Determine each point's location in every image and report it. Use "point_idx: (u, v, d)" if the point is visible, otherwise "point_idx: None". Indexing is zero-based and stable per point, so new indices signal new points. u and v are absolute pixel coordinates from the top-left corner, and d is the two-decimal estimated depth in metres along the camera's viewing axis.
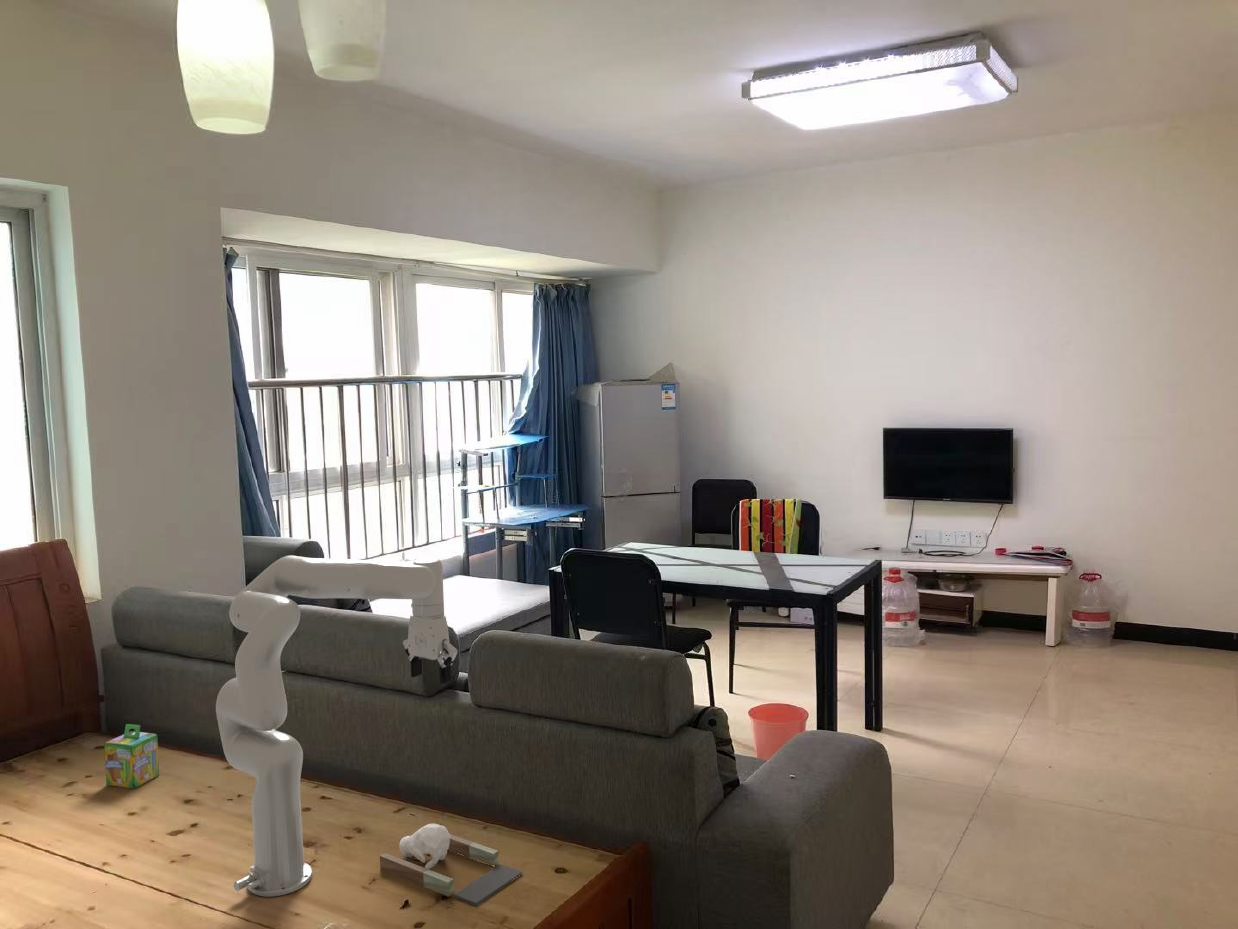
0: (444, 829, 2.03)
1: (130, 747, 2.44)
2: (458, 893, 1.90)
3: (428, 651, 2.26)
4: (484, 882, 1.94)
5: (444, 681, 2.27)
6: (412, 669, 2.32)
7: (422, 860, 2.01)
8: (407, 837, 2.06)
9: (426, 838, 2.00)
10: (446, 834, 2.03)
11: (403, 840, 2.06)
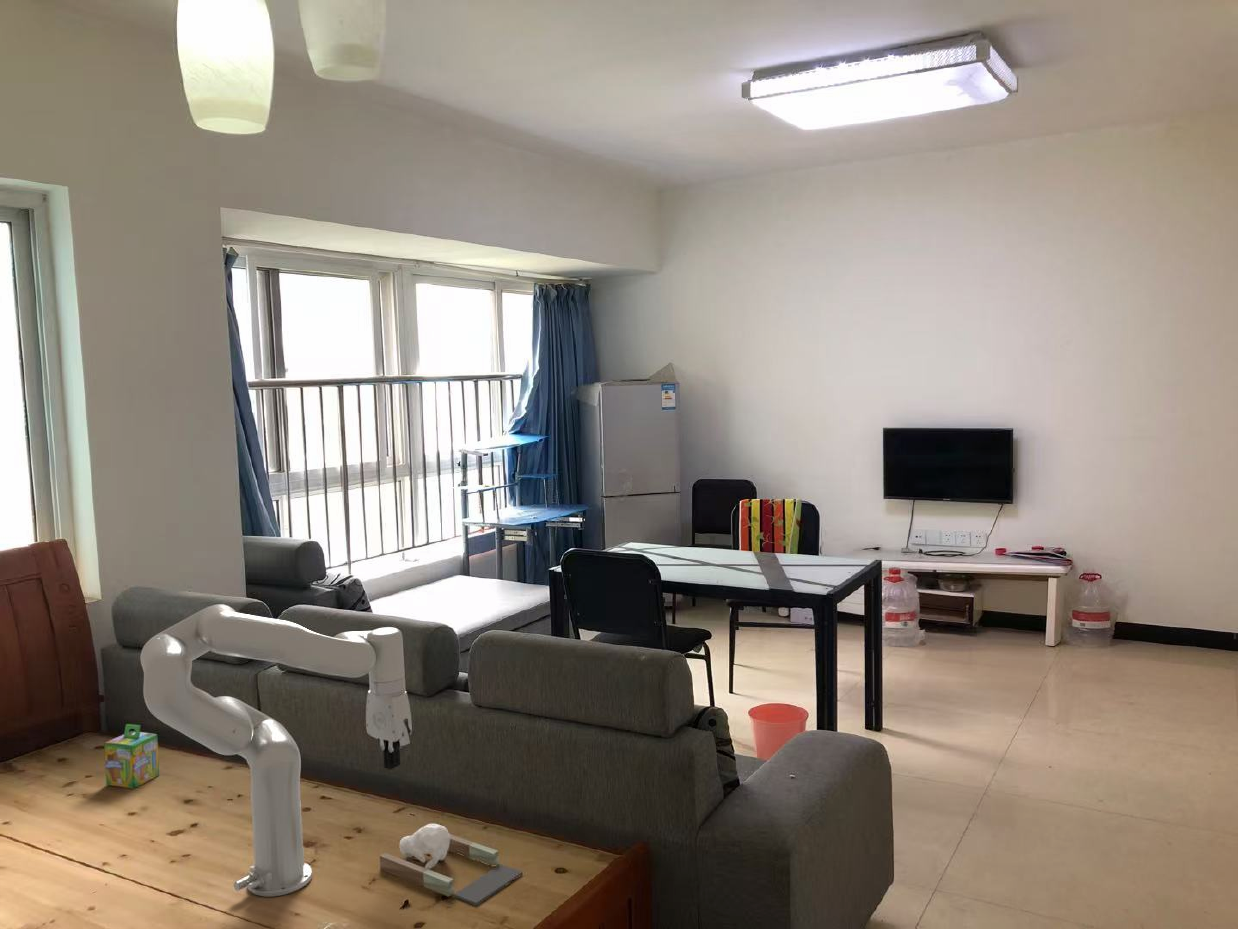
0: (444, 829, 2.03)
1: (130, 747, 2.44)
2: (458, 893, 1.90)
3: (387, 732, 2.04)
4: (484, 882, 1.94)
5: (392, 766, 2.07)
6: (385, 760, 2.07)
7: (422, 860, 2.01)
8: (407, 837, 2.06)
9: (426, 838, 2.00)
10: (446, 834, 2.03)
11: (403, 840, 2.06)
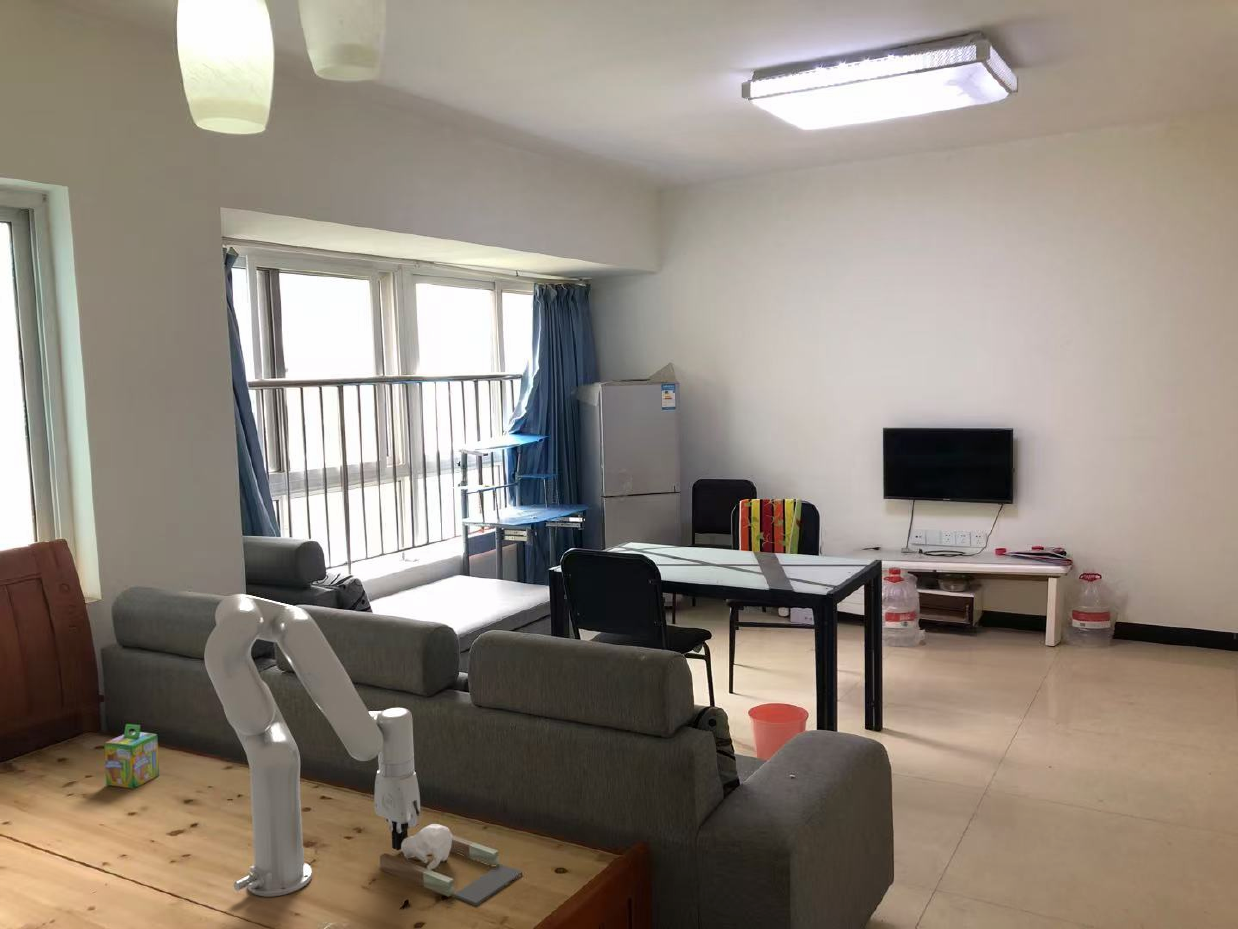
0: (446, 829, 2.02)
1: (130, 747, 2.44)
2: (458, 893, 1.90)
3: (396, 814, 2.04)
4: (484, 882, 1.94)
5: (400, 847, 2.08)
6: (393, 840, 2.07)
7: (424, 861, 2.01)
8: (409, 838, 2.05)
9: (428, 838, 2.00)
10: (448, 834, 2.02)
11: (405, 841, 2.05)
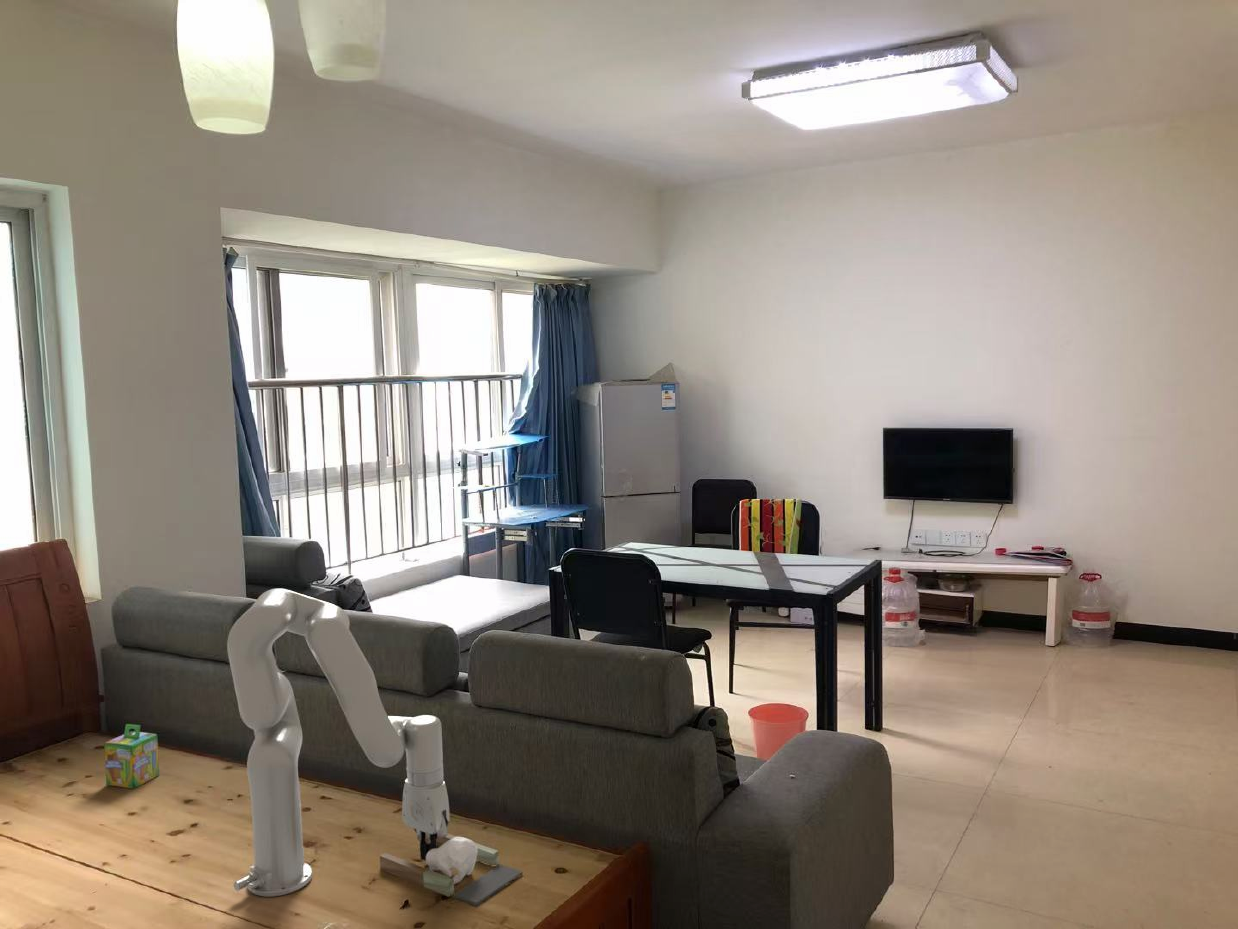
0: (471, 843, 1.96)
1: (130, 747, 2.44)
2: (458, 893, 1.90)
3: (425, 824, 1.99)
4: (484, 882, 1.94)
5: None
6: (422, 851, 2.02)
7: (448, 874, 1.95)
8: (434, 850, 2.00)
9: (452, 852, 1.94)
10: (473, 848, 1.96)
11: (430, 852, 2.00)
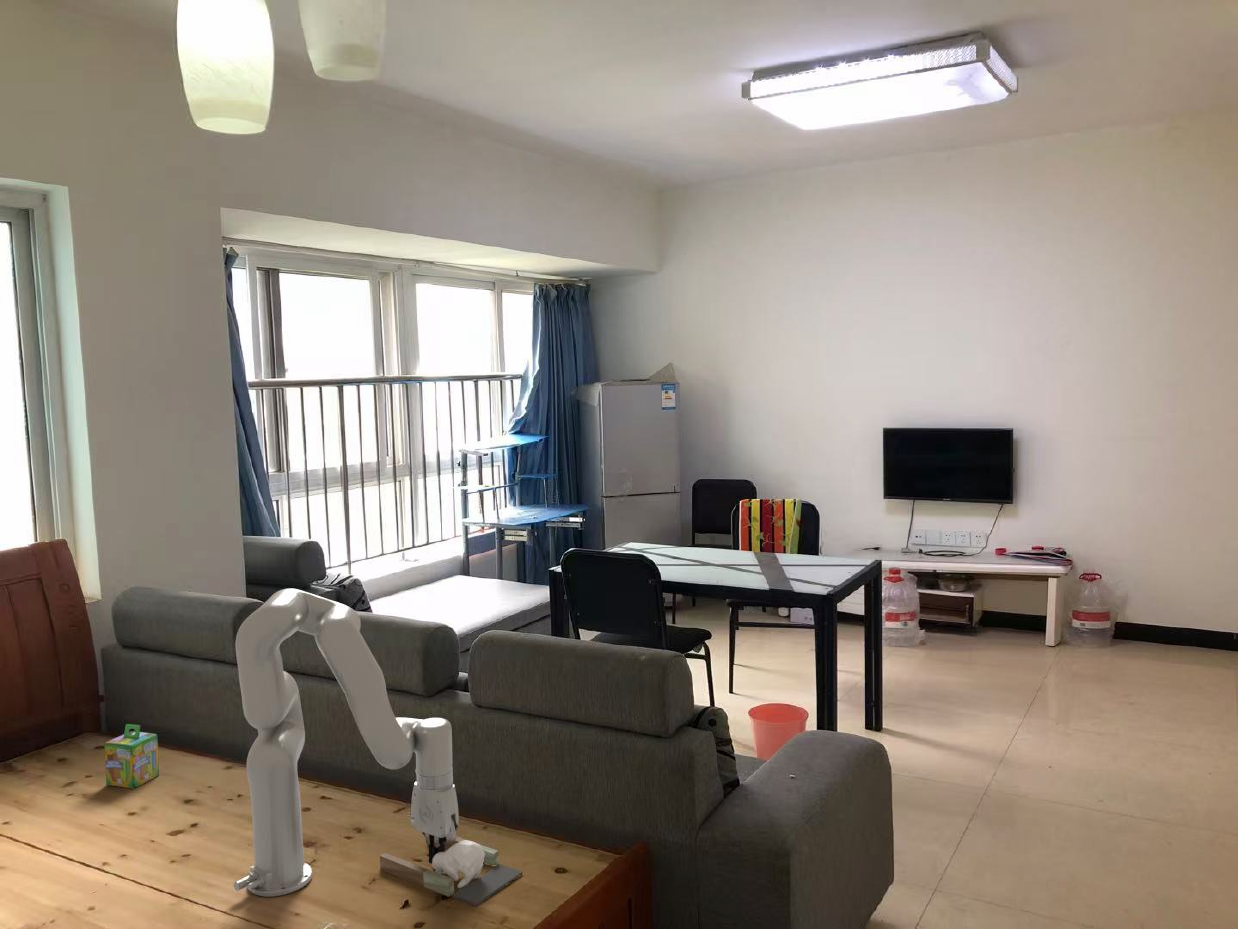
0: (478, 846, 1.95)
1: (130, 747, 2.44)
2: (458, 893, 1.90)
3: (434, 828, 1.98)
4: (484, 882, 1.94)
5: None
6: (430, 854, 2.01)
7: (455, 878, 1.93)
8: (440, 853, 1.98)
9: (458, 855, 1.93)
10: (480, 852, 1.95)
11: (436, 856, 1.98)
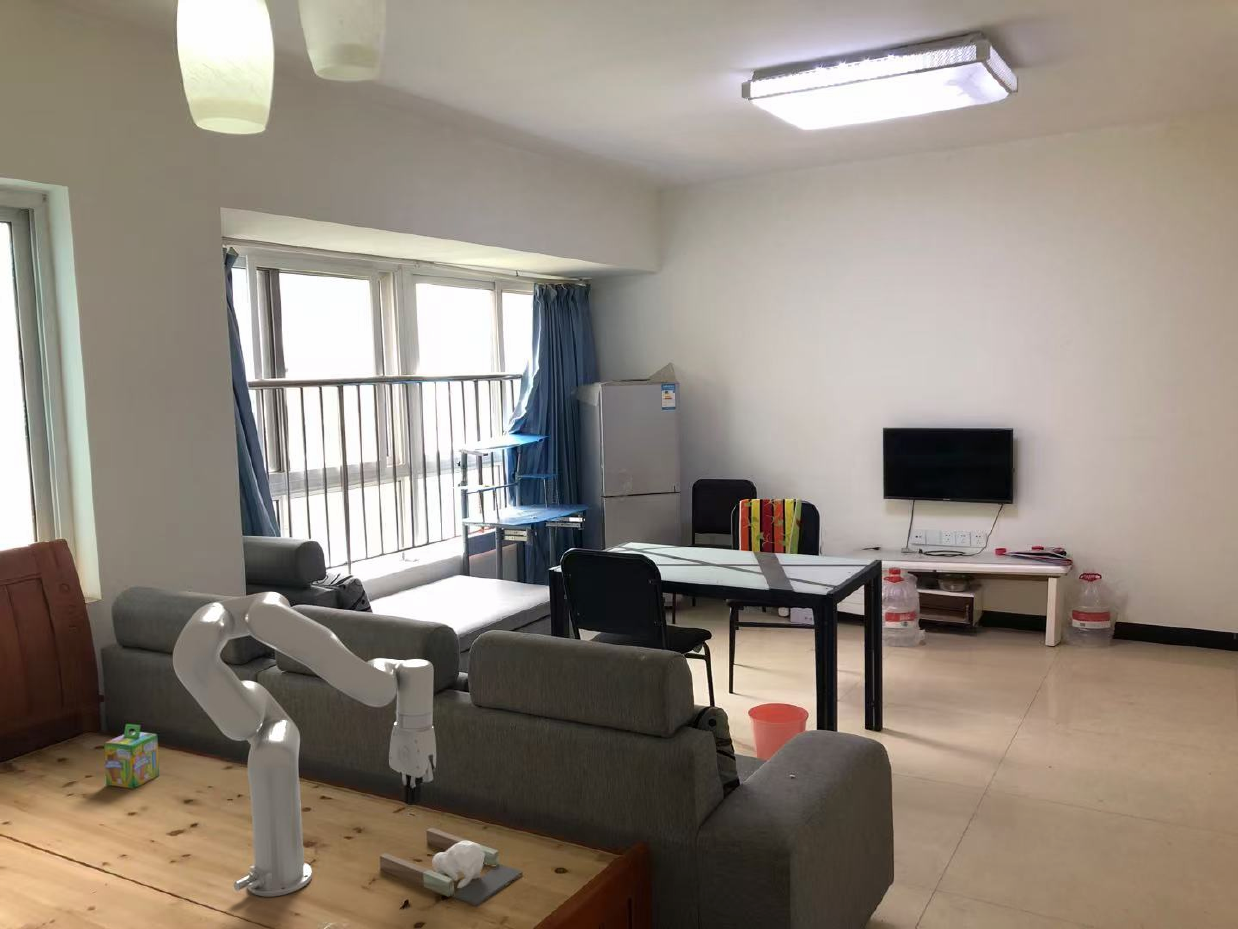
0: (478, 847, 1.95)
1: (130, 747, 2.44)
2: (458, 893, 1.90)
3: (411, 767, 1.99)
4: (484, 882, 1.94)
5: (413, 802, 2.03)
6: (406, 795, 2.02)
7: (455, 878, 1.93)
8: (440, 853, 1.98)
9: (458, 856, 1.93)
10: (480, 852, 1.95)
11: (436, 856, 1.98)
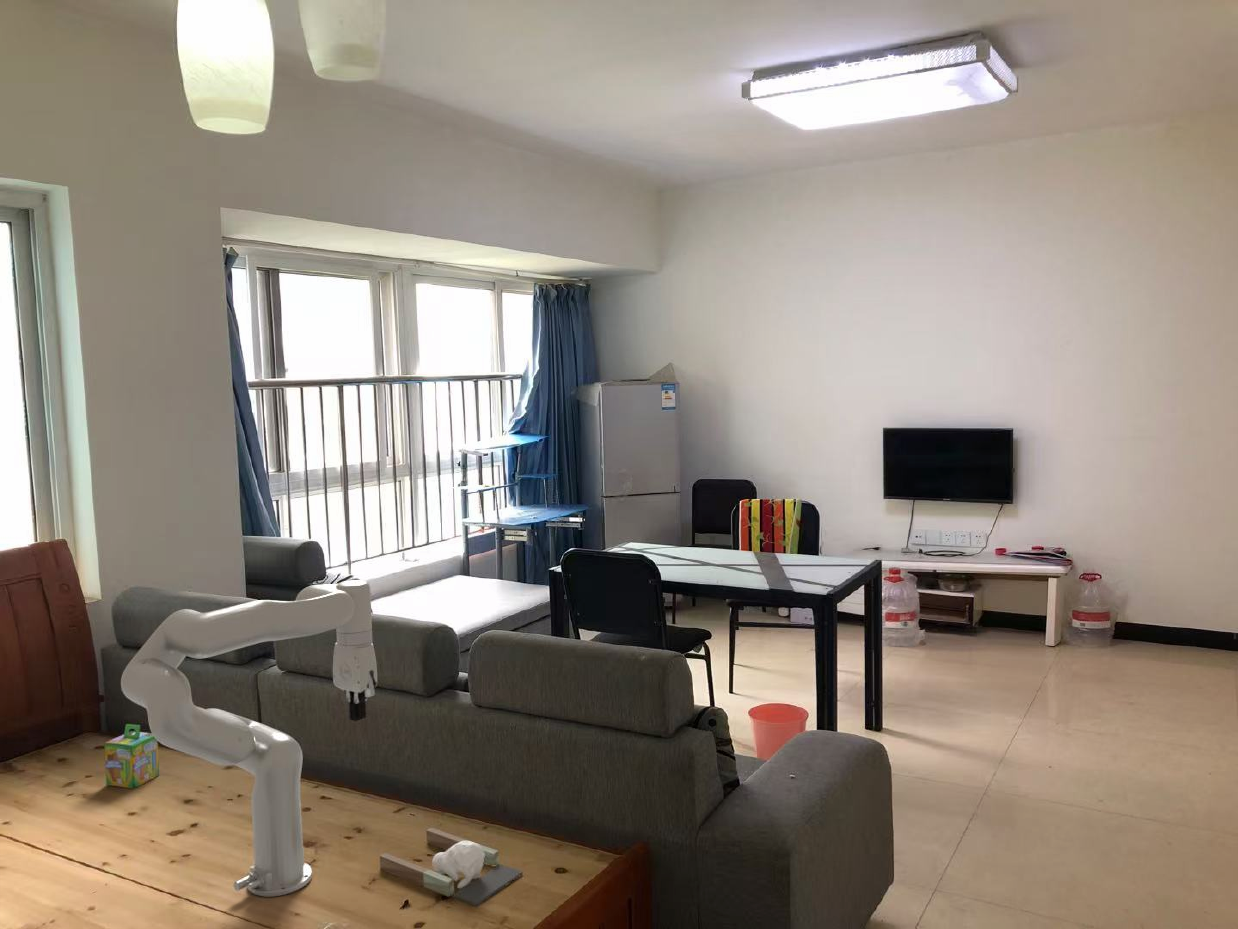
0: (478, 847, 1.95)
1: (130, 747, 2.44)
2: (458, 893, 1.90)
3: (353, 683, 2.05)
4: (484, 882, 1.94)
5: (358, 718, 2.09)
6: (351, 711, 2.09)
7: (455, 878, 1.93)
8: (440, 853, 1.98)
9: (458, 856, 1.93)
10: (480, 852, 1.95)
11: (436, 856, 1.98)
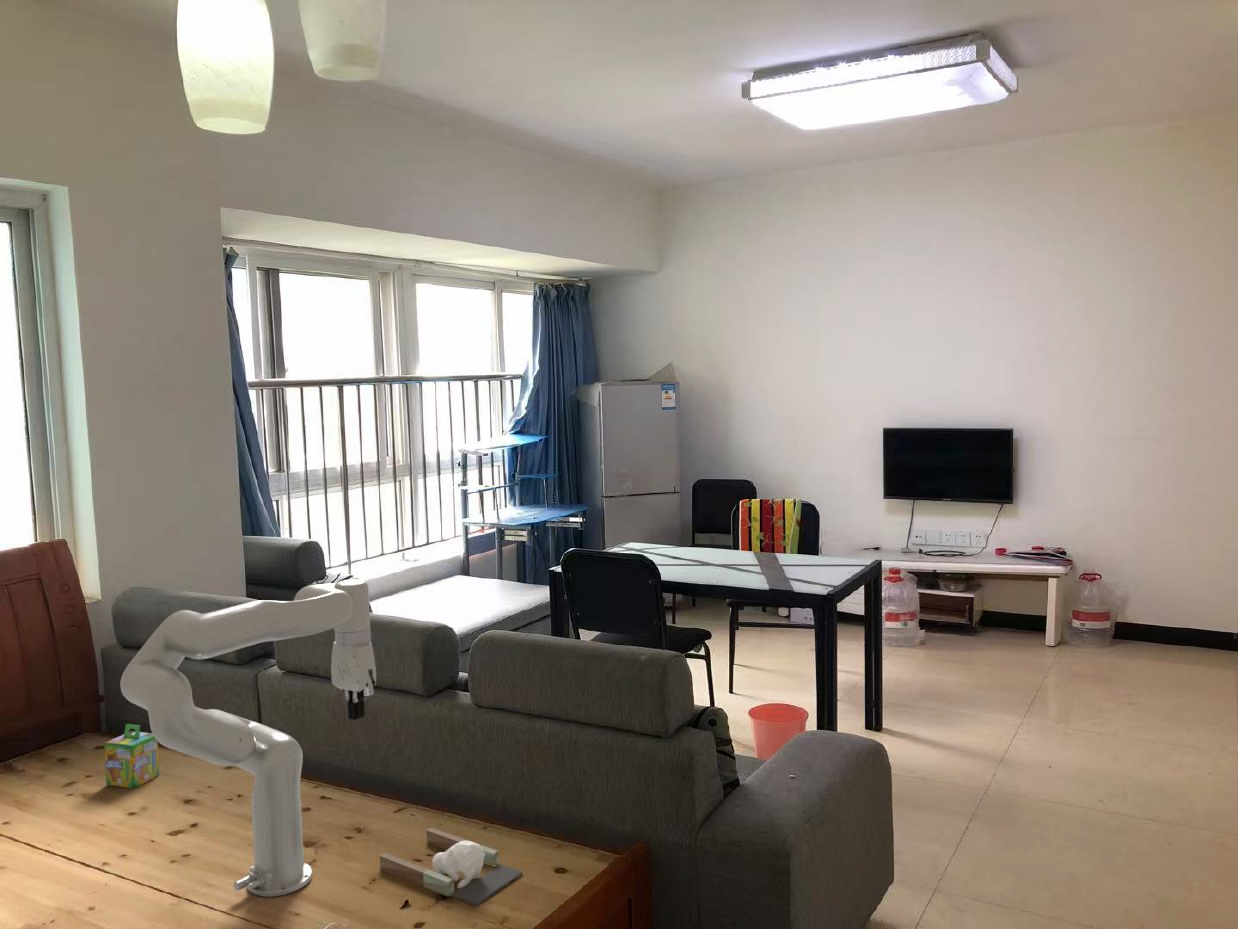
0: (478, 847, 1.95)
1: (130, 747, 2.44)
2: (458, 893, 1.90)
3: (352, 682, 2.06)
4: (484, 882, 1.94)
5: (356, 717, 2.09)
6: (349, 710, 2.09)
7: (455, 878, 1.93)
8: (440, 853, 1.98)
9: (458, 856, 1.93)
10: (480, 852, 1.95)
11: (436, 856, 1.98)
